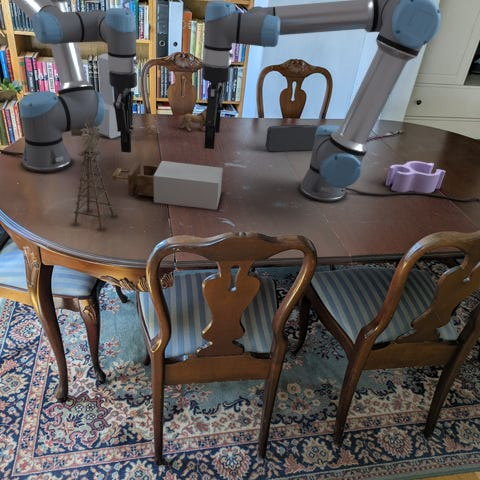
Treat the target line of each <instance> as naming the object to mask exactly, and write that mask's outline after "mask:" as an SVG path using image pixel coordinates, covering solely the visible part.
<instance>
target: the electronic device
mask: <svg viewBox="0 0 480 480" xmlns="http://www.w3.org/2000/svg"><path fill="white" fill-rule="evenodd" d="M97 67H98V79H99V80H98V81H99V93H100V94H101V96H102V98H103V100H104V106H105V115H104V119H103V122H102V123H101V124H100V125H99V126H97V128H96V130H97V129H98V128H99V130H98V131H97V133H100V134H99V136H103V137H104V138H105V137H106V138H109V139H115V138H117V137H121V136H120V132H118V131H117V130H118V129H117V122H116V114H115V109H114V105H113V103H114V102H116V99H115V93H116V90H117V89H116V88H115V87H112V86H111V85H110V81H109V72H110V70H109V68H108V53H102V54H99V55H98V56H97Z"/></svg>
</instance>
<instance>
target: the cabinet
mask: <svg viewBox="0 0 480 480" xmlns="http://www.w3.org/2000/svg"><path fill="white" fill-rule="evenodd" d="M158 166H159V167H158V169H157V170H156V172H155V174H154V196H153V203H155V204H156V203H157V204H163V205H173V206H182V207H190V208H197V209H207V210H213V211H217V210H218V206H219V203H220V198H221V194H222V185H223V183H222V182H223V172H224V168H223V167H217V166H211V165H210V166H209V165H201V164H192V163H184V162H176V161H167V160H161V161H160V163H159V165H158Z"/></svg>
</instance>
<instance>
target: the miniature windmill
mask: <svg viewBox="0 0 480 480" xmlns="http://www.w3.org/2000/svg"><path fill="white" fill-rule="evenodd" d="M89 118H90V117H89ZM92 120H93V116H92ZM94 121H95V118H94ZM96 122H97V120H96ZM87 123H88V119H87ZM93 125H94V122H93ZM95 125H96V123H95ZM95 125H94V127H92V126H91V122H90V127H89V129H88V127H87V125H86V123H85V126H86V128H87V129H85V128H83V129H77V128H73V127H71V131H70V132H71V136H72V137H81V136H82V137H83V138H82V140H81V141H82V146H83V147H84V150H83V151H81V152H80V153H78V154H77V155H78V156H80V157H83V161H82V162H81V164H82V168H81V171H80V173H81V175H80V178H79V187H78V193H77V195H76V196H77V201H76V202H75V205H76V207H75V208H76V209H75V210H74V212H73V213H74V221H73V224H74V225H77V224H78V217H79V215H83V216H89V217H94V218H98V224H99V229H100V230H103V229H104V228H103V222H102V221H103V220H102V217H103V216H104V215H105V214H106V213H107V212H108V211H110V214H111V216H112V217H115V212H114V210H113V203H111V201H110V197H109V193H108V192H107V191H108V188H106V185H105V182H104V179H103V174H102V173H101V169H100V166H99V164H98V163H99V160H97V157H98V156H100V155H101V154H102V153H103V152H102V151H100V150H95V149H97V147H96V146H98V142H97V141H99V140H100V138H99V137H98V136H100V133H98V130H99V128H98V129H97V126H98V125H99V123H98V124H97V126H96V127H95ZM88 126H89V123H88ZM94 167H96V170H97V173H95V172H94ZM85 170H87V172H86V174H85ZM90 171H91V172H90ZM90 175H91V179H92V180H90ZM95 176H98V177H97V178H95ZM99 180H100V182H101V186H102V187H100V186H97V184H96V183H97V182H98V181H99ZM90 183H92V185H90ZM85 185H86V187H85V188H84V189H83V187H84V186H85ZM91 188H93V192H94V196H91V194H90V192H91V191H90V189H91ZM97 189H98V190H103V191H102V192H101V193H100V194H99V195H98V191H97ZM85 191H86V193H85ZM83 193H85V194H83ZM103 195H105V198H106V201H107V202H102V201H99V198H100V197H102V196H103ZM85 198H86V200H85V201H84V202H83V203H82V204H81V201H83V200H84V199H85ZM91 199H94V200H91ZM90 203H94V204H96V205H95V206H96V211H97V214H92V213H91V214H90V213H85V212H82V211H81V212H80V209H81V208H83V207H84V205H86V207H87V208H86V210H87V212H90V209H91V208H90V206H91V205H90ZM80 204H81V205H80ZM100 205H105V206H108V207H107V208H106V209H105V210H104V211H103V212H102V213H101V210H100Z"/></svg>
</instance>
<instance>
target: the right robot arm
mask: <svg viewBox="0 0 480 480" xmlns="http://www.w3.org/2000/svg"><path fill="white" fill-rule="evenodd" d="M441 21H442V13H441V10H440V6H439V4H438V3H437V2H436V1H435V0H336V1H326V2H324V1H323V2H313V3H311V2H310V3H301V4H289V5H287V4H286V5H277V6H276V5H275V6H265V7H264V6H260V5H259V6H253V7H251V8H248V10H247V11H246V12H240V11H237V10H236V4H235V3H234V2H232V1H226V0H209V1H208V2H207V3H206V5H205V15H204V32H203V50H202V63H203V65H202V74H201V75H202V76H201V77H202V79H203V80H204V81H205V82H209V83H210V84H209V85H208V87H207V91H206V93H207V97H206V102H207V103H206V108H207V110H206V120H205V123H203V126H204V129H205V131H204V132H205V133H204V147H203V148H204V149H208V150H209V149H210V150H215V143H216V134H217V133H218V134H219V133H220V128H221V114H222V111H224V106H223V102H222V100H223V91H224V86H223V84H225V83H228V82H229V81H230V79H231V67H230V65H231V64H232V58H234V56H235V55H234V53H232V51H233V44H237V45H239V44H240V45H248V46H256V47H262V48H275V47H277V46H278V45H279V39H280V36H288V35H302V34H314V33H315V34H316V33H329V32H342V31H343V32H344V31H354V30H355V31H357V30H364V31H365V32H366V33H378V34H377V37H376V38H375V42H376V46H377V50H376V51H375V54H374V56H373V58H372V60H371V61H370V64H369V66H368V69H367V70H366V72H365V74H364V76H363V79H362V81H361V83H360V85H359V87H358V89H357V91H356V93H355V95H354V98H353V99H352V101H351V104H350V106H349V107H348V110H347V112H346V114H345V116H344V118H343V121H342V122H341V124H340V125H334V124H321V125H318V126H319V127H318V128H317V130H316V134H315V140H314V145H313V150H311V156H310V162H309V167H308V170H307V172H306V173H305V175H304V177H303V179H302V180H301V182H300V186H299V190H300V192H301V194H302V195H304V196H306V197H307V198H309V199H312V200H314V201H318V202H324V203H333V202H338V201H341V200H342V199H344V197H345V195H346V191H349V192H353V193H356V194H361V195H368V196H378V197H379V196H395V195H421V196H430V197H436V198H443V199H448V200H453V201H457V202H469V201H473V200H477V202H480V198H479V197H477V196H476V197H475V196H473V197H469V198H457V197H452V196H447V195H442V194H435V193H421V192H415V191H407V192H397V191H394V192H388V193H385V192H384V193H379V192H378V193H377V192H367V191H360V190H357V189H355V188H350V187H351V186H352V185H354V184H355V183H356V182H357V181H358V180H359V179H360V177H361V175H362V168H363V167H362V161H363V160H364V159H365V157H366V154H367V153H368V145H367V139H368V138H370V135H371V133H372V131H373V129H374V127H375V125H376V124H377V121H378V119H379V118H380V116H381V114H382V112H383V110H384V108H385V106H386V104H387V103H388V100H389V98H390V97H391V95H392V92H393V91H394V89H395V87H396V85H397V83H398V81H399V79H400V77H401V75H402V74H403V72H404V70H405V67H406V66H407V64H408V63H409V61H411V60H414V59H417V57H418V55H419V54H420V52H421V50H422V48H423V46H425V45H426V44H429V43H430V42H431V41H432V40H433V39H434V37H435V36H436V35H437V33H438V32H439V29H440V27H441ZM208 121H209V122H208ZM478 198H479V199H478Z"/></svg>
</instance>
